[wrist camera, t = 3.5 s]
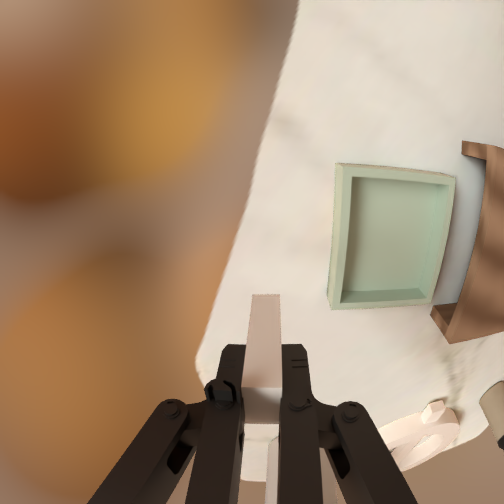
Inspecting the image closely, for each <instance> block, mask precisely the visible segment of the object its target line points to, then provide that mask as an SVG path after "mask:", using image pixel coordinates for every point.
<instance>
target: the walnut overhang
mask: <svg viewBox="0 0 504 504" xmlns="http://www.w3.org/2000/svg"><path fill="white" fill-rule="evenodd" d="M462 154H464V155H468V156H472V157H477V158H480V159H484V160H487V162H486V175H485V185H484V194H483V201H482V208H481V214H480V220H479V225H478V230H477V235H476V240H475V244H474V249H473V253H472V257H471V261H470V264H469V268H468V272H467V275H466V278H465V282H464V285H463V288H462V291H461V294H460V297H459V300H458V303H453V304H444V305H435V306H433V308H432V311H431V314H430V316H431V317H432V318H433V320H434V321H435V323H436V324H437V326H438V327H439V329H440V330H441V332H442V333H443V335H444V336H445V338H446V339H447V341H448V343H449V344H453V343H458V342H462V341H467V340H471V339H476V338H480V337H484V336H488V335H492V334H495V333H499V332H503V331H504V149H503V148H500V147H497V146H492V145H486V144H480V143H474V142H468V141H462Z"/></svg>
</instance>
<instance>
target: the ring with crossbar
mask: <svg viewBox="0 0 504 504" xmlns="http://www.w3.org/2000/svg"><path fill="white" fill-rule="evenodd" d="M377 430H378V432H379V433H380V435H381V437H382V439H383V440H384V442H385V444H386V446H387V448H388V449H389V450H391V449H393V448H395V447H396V448H395V449H394V450H393V451H392V453H391V455H392V457H393V458H394V460H395V462H396V464H397V466H398V468H399V469H400V471H401V472H402V471H405V470H408V469H410V468H413V467H415V466H417V465H419V464H421V463H423V462H425V461H427V460H428V459H430V458H432V457H433V456H435V455H437V454H438V453H439V452H441V451H442V450H443V449H445V448H446V447H447V446H448V445H449V444H450V443H451V442H452V441H453V440H454V439H455V438H456V437H457V435H458V434H459V432H460V425H459V423H458V421H457V418H456V416H455V414H454V411H453V410H451V409H449V408H445V405H444V403H443V401H442V400H440V401H437V402H433V403H429V404H428V405H427V407H426V408H425V410H424V411H421V412H418V413H415V414H412V415H409V416H406V417H403V418H401V419H398V420H396V421H394V422H391V423H389V424H387V425H385V426H383V427H381V428H379V429H377ZM430 435H432V436H431V437H430V438H429V439H428V440H427V441H425V442H424V443H422V444H421V445H419V446H418V447H416V448H414V447H415V446H416V445H417V444H418V443H419V442H420V440H421V439H422V438H423V437H425V436H430ZM413 448H414V449H413Z"/></svg>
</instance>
